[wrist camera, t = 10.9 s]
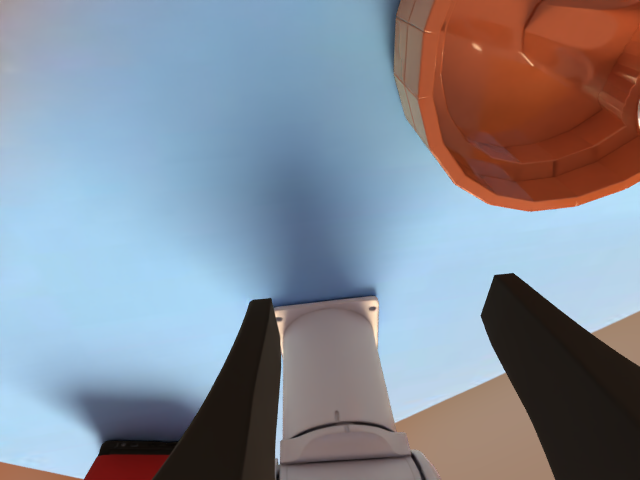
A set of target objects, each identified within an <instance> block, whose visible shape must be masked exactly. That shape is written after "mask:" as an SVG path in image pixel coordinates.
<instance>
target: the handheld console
mask: <svg viewBox="0 0 640 480" xmlns="http://www.w3.org/2000/svg"><path fill="white" fill-rule="evenodd" d="M177 443H178V442H171V443H164V442H153V441H105V442H104V443H103V444H102V446H101V449H100V452H99V454H98V457H97V458H96V459H95V461H94V463H93V465H92V466H91V468H90V470H89V472H88V473H87V475H86V477H85V478H84V480H152V478H153V477H154V476H155V474H156V473H157V472H158V470H159V469H160V468H161V466H162V465H163V464H164V462H165V461H166V459H167V458H168V457H169V455H170V454H171V452H172V451H173V449H174V448H175V446H176V445H177Z"/></svg>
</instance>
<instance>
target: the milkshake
mask: <svg viewBox="0 0 640 480" xmlns="http://www.w3.org/2000/svg"><path fill="white" fill-rule="evenodd" d="M524 55H525V56H526V57H527V58H528V59H529V60H530V61H531V62H532V63H533V64H534V65H535V66H536V68H538V69H539V70H541V71H542V72H544V73H546V74H547V75H549V76H550V77H552V78H554V79H555V80H557V81H558V82H560V83H562V84H563V85H565V86H566V87H568V88H570V89H571V90H573V91H574V92H576V93H578V94H579V95H581V96H582V97H584V98H586V99H587V100H589V101H590V102H592V103H594V104H595V105H597V106H598V107H600V108H601V109H603V110H604V111H606V112H607V113H608V114H610V115H611V116H613V117H614V118H616V119H617V120H618V121H620V122H621V123H623V124H624V125H626V126H627V127H628V128H630V129H631V130H633V131H634V132H636V133H637V134H639V135H640V0H544V1H543V2H541V3H540V4H539V5H538V7H537V9H536V10H535V12H534V14H533V16H532V17H531V19H530V21H529V23H528V24H527V26H526V28H525V30H524Z"/></svg>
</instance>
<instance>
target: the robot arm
mask: <svg viewBox="0 0 640 480" xmlns="http://www.w3.org/2000/svg"><path fill="white" fill-rule="evenodd" d="M371 306H373V307H371ZM378 316H379V302H378V298H377V297H375V296H367V297H358V298H350V299H341V300H332V301H323V302H315V303H306V304H297V305H288V306H280V307H275V308H273V304H272V299H271V298H268V299H258V300H252V301H251V302H250V303H249V306H248V309H247V312H246V315H245V317H244V320H243V323H242V325H241V328H240V330H239V333H238V335H237V337H236V340H235V342H234V344H233V346H232V348H231V351H230V353H229V355H228V357H227V359H226V361H225V363H224V365H223V367H222V369H221V371H220V373H219V375H218V377H217V379H216V381H215V383H214V384H213V386H212V388H211V390H210V392H209V394H208V396H207V397H206V399H205V401H204V402H203V404H202V406H201V408H200V409H199V411H198V413H197V414H196V416H195V417H194V419H193V421H192V422H191V424H190V425H189V427H188V428H187V430H186V431H185V433H184V434H183V436H182V437H181V439H180V440H179V442H178V443H177V445H176V446H175V448H174V449H173V451H172V452H171V454H170V455H169V457H168V458H167V459H166V461H165V462H164V464H163V465H162V466H161V468H160V469H159V470H158V472H157V473H156V474H155V476H154V477H153V478H152V480H441V478H440V476H439V474H438V472H437V470H436V469H435V467H434V466H433V465H432V464H431V463H430V462H429V461H428V460H427V458H426V457H425V456H424V454H423V453H421V452H420V451H418V450H410V447H409V444H408V439H407V435H406V433H397V431H396V427H395V423H394V418H393V414H392V410H391V406H390V401H389V397H388V393H387V388H386V384H385V380H384V376H383V371H382V367H381V363H380V358H379V354H378ZM481 318H482V321H483V324H484V326H485V329H486V332H487V334H488V337H489V340H490V342H491V345H492V347H493V349H494V351H495V353H496V354H497V356H498V358H499V360H500V362H501V364H502V366H503V368H504V370H505V372H506V373H507V375H508V377H509V379H510V381H511V383H512V385H513V386H514V388H515V390H516V392H517V394H518V396H519V398H520V400H521V402H522V403H523V405H524V407H525V409H526V411H527V413H528V415H529V417H530V419H531V421H532V423H533V426H534V428H535V430H536V433H537V435H538V437H539V440H540V442H541V445H542V447H543V449H544V452H545V454H546V457H547V459H548V462H549V465H550V467H551V469H552V472H553V475H554V477H555V480H640V367H639V366H638V365H636V364H635V363H633V362H631V361H630V360H628V359H627V358H625V357H624V356H622V355H621V354H619V353H618V352H616V351H615V350H613V349H612V348H610V347H609V346H608V345H606V344H605V343H604V342H602V341H601V340H599V339H598V338H596V337H595V336H594V335H592V334H591V333H589V332H588V331H587V330H585V329H584V328H583V327H581V326H580V325H579V324H577V323H576V322H575V321H573V320H572V319H571V318H569V317H568V316H567V315H566V314H564V313H563V312H562V311H560V310H559V309H558V308H557V307H555V306H554V305H553V304H552V303H550V302H549V301H548V300H546V299H545V298H544V297H543V296H541V295H540V294H539V293H538V292H536V291H535V290H534V289H533V288H532V287H530V286H529V285H528V284H527V283H525V282H524V281H523V280H521V279H520V278H519V277H518V276H516V275H515V274H514V273H510V274H500V275H494V278H493V281H492V284H491V287H490V290H489V293H488V296H487V299H486V301H485V304H484V307H483V310H482V313H481ZM281 354H282V358H283V440H281V441H280V465H278V459H277V458H276V459H275V440H276V426H277V414H278V401H279V388H280V375H281Z"/></svg>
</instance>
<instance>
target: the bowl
mask: <svg viewBox="0 0 640 480" xmlns="http://www.w3.org/2000/svg"><path fill="white" fill-rule="evenodd" d="M543 1H544V0H401V1H400V4H399V7H398V10H397V14H396V22H395V47H394V78H395V81H396V85H397V89H398V92H399V96H400V100H401V103H402V107H403V111H404V115H405V117H406V119H407V120H408V122H409V123H410V125H411V126H412V127H413V129H414V130H415V131H416V133H417V134H418V136H419V137H420V138H421V140H422V141H423V143H424V144H425V145H426V147H427V148H428V149H429V151H430V152H431V153H432V155H433V156H434V157H435V159H436V160H437V162H438V163H439V164H440V166H441V167H442V168H443V170H444V171H445V172H446V174H447V175H448V176H449V178H450V179H451V180H452V182H453V183H454V184H455V185H457V186H458V187H460V188H462V189H463V190H465V191H467V192H468V193H470V194H472V195H473V196H475V197H477V198H478V199H480V200H482V201H483V202H485V203H487V204H490V205H494V206H500V207H506V208H512V209H517V210H523V211H531V212H532V211H540V210H549V209H558V208H567V207H575V206H579V205H581V204H584V203H587V202H590V201H593V200H596V199H599V198H602V197H604V196H607V195H610V194H613V193H616V192H619V191H622V190H624V189H627V188H629V187H631V186H632V185H634V184H636V183H638V182H639V181H640V135H639V134H637V133H636V132H634V131H633V130H631V129H630V128H628V127H627V126H626V125H624V124H623V123H621V122H620V121H618V120H617V119H616V118H614V117H613V116H611V115H610V114H608V113H607V112H606V111H604V110H603V109H601V108H600V107H598V106H597V105H595V104H594V103H592V102H590V101H589V100H587V99H586V98H584V97H582V96H581V95H579V94H578V93H576V92H574V91H573V90H571V89H570V88H568V87H566V86H565V85H563V84H562V83H560V82H558V81H557V80H555V79H554V78H552V77H550V76H549V75H547V74H546V73H544V72H542V71H541V70H539V69H538V68H536V66H535V65H534V64H533V63H532V62H531V61H530V60H529V59H528V58H527V57H526V56H525V55H524V30H525V28H526V26H527V24H528V23H529V21H530V19H531V17H532V16H533V14H534V12H535V10H536V9H537V7H538V5H539V4H540V3H541V2H543Z"/></svg>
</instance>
